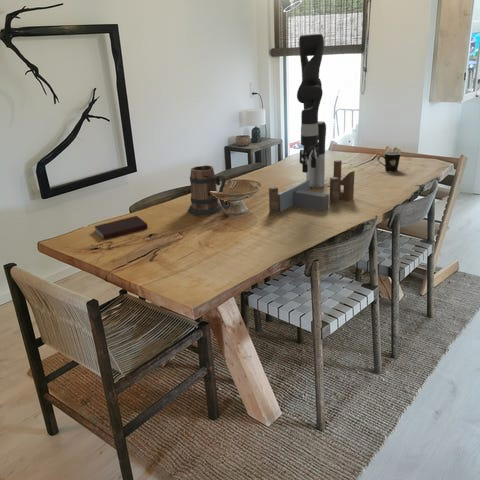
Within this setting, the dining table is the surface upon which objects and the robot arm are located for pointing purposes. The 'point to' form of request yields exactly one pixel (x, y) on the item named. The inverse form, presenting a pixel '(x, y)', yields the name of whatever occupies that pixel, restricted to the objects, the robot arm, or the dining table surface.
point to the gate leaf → (290, 195)
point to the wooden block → (344, 182)
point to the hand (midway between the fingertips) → (309, 170)
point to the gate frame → (274, 195)
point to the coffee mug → (391, 161)
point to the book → (121, 227)
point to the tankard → (205, 191)
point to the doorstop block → (310, 200)
